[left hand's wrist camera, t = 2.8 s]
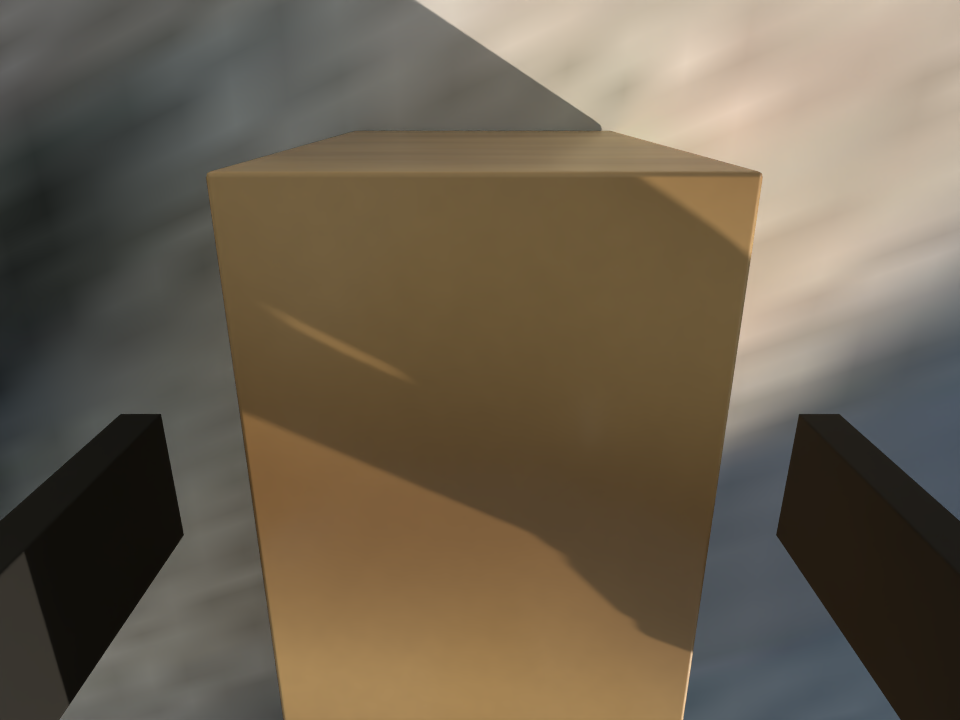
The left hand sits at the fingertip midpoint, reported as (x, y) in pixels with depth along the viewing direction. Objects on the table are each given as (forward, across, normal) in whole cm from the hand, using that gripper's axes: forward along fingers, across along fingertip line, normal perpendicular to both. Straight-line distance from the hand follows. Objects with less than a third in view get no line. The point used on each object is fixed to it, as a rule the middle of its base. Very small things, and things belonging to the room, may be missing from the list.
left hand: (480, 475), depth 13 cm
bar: (+2, 0, -22) cm, 23 cm away
